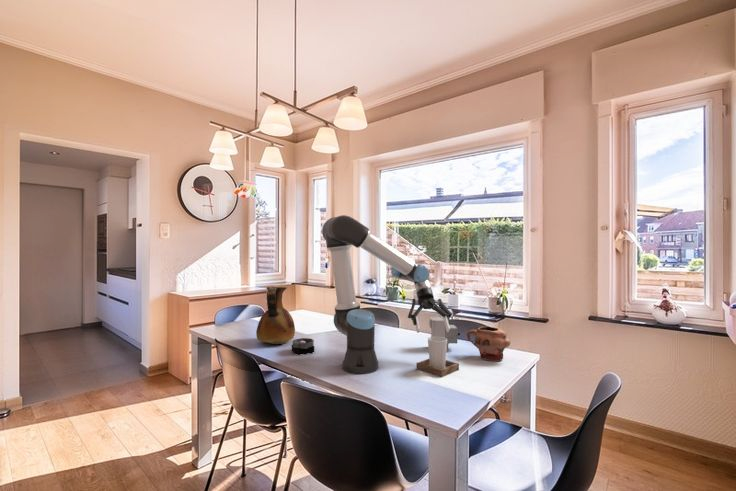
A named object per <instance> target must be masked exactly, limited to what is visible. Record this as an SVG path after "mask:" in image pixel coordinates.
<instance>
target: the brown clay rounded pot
mask: <svg viewBox="0 0 736 491" xmlns="http://www.w3.org/2000/svg"><path fill="white" fill-rule="evenodd" d="M471 335H475V337H474V341H472V339H471ZM507 336H508V335H507V333H506V332H505V331H504V330H502V329H501V328H499V327H493V326H480V327H478V328H477V329H469V330H468V331H467V333H466V337H467V340H468V341H469V342H470V343H471V344H472V345H473V346H475V348H477V349H478V351H479V357H480V358H481V359H482V360H486V361H492V362H500V361H502V360H503V359H504V350H505V349H506V348H508V347H510V345H511V341H510V339H508V337H507Z"/></svg>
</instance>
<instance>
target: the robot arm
mask: <svg viewBox="0 0 736 491" xmlns="http://www.w3.org/2000/svg"><path fill="white" fill-rule="evenodd" d="M321 234H322V237H323V239H324V240H325V244H326V249H327V250H328V251H329V252H330V256H331V257H330V258H331V264H332V272H333V278H334V287H335V294H336V302H337V303H336V305H335V306H334V312H335V313H334V315H333V324H334V327H335V328H336V330H337V331H338V332H340V333H341V334H343V335H344V336H346V351H345V355H344V358H343V360H342V369H343V371H345V372H348V373H350V374H352V373H353V374H369V373H373V372H375V371H378V370H379V360H378V358H377V353H376V351H375V350H376V349H375V337H376V336H375V335H376V334H375V329H376V328H375V326H376V319H375V315H374V313H373V312H372V311H370V310H368V309H361V304H360V303H359V302H358V301H357V297H356V290H355V281H354V274H353V267H352V259H351V250H350V249H351V247H355V248H357V249H358V248H361V249H362V250H364V251H365V252H367V253H369V254H371V255H372V256H374V257H375V258H377V259H379V260H380V261H381V262H383V263H385V264H386V265H387V266H390V267H391V269H390V274H391V277H394V278H396V279H400V280H403V281H408V282H411V283H413V284H414V289H415V292H416V298H417V299H415V298H413V299H412V301H411V307H410V309H409V312H408V315H407V319H411V321H412V323H413V326H415V329H416V333H420V331H421V328H420V322H419V319H418V318H419V317H418V315H419V313H420V312H421V311H422V310H423V309H424V310H432V311H434V312H436V313H437V314H438V315H440V316H441V317H442V318H444V323H445V327H446V330H447V332H449V330H450V326H449V325H451V320H450V318H452V315H453V313H452V312H451V311H450V310H449V308H448V307H447V306H446V305H445V303H443V301H442V299H441V298H438V299H436V298H434V294H433V289H432V285H431V281H430V278H429V277H430V269H429V267H428V266H426V265H424V264H422V263H419V264H418V263H417V262H415V261H414V260H412V259H411V258H410V257H408V256H407V255H406V254H403V253H402V252H401V251H399V250H397V248H395V247H393V246H391V245H390V244H389V243H387V242H386V241H384V240H383V239H381V238H379V237H378V236H376V235H375V234H373V233H372V232H371V231H370V229H369V227H368V226H366V225H364V224H362V222H359V221H358V220H357V219H355V218H354V217H351V216H349V215H345V214H344V215H338V216H334V217H330V218H329V219H327V220H325V222H324V223H323V225H322V228H321ZM416 305H418V306H419V307H418V308H417V309H416V310H415V312H414V313H413V311H414V309H415V306H416Z"/></svg>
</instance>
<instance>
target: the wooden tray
mask: <svg viewBox="0 0 736 491" xmlns="http://www.w3.org/2000/svg"><path fill="white" fill-rule="evenodd" d="M416 370H418V371H421V372H424V373H427V374H430V375H433V376H436V377H439V378H444V377H446V376H448V375H450V374H453V373H455V372H457V371H460V363H459V362H454V361H451V360H447V359H446V362H445V368H444V369H438V368H434V367H431V366H430V360H429V358H427V359H424V360H421V361H419V362H416Z"/></svg>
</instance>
